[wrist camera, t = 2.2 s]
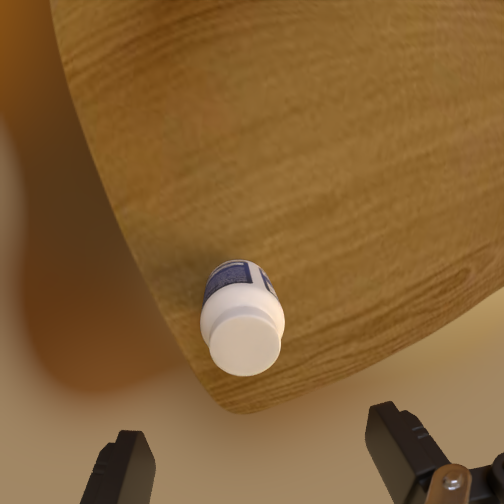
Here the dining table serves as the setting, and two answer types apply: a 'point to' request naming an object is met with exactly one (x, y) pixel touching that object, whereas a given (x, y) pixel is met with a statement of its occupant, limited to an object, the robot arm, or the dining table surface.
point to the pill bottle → (241, 318)
